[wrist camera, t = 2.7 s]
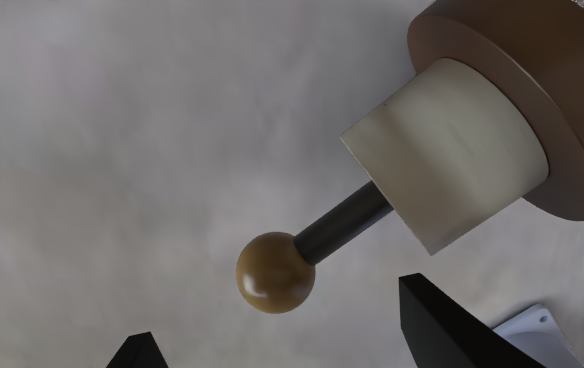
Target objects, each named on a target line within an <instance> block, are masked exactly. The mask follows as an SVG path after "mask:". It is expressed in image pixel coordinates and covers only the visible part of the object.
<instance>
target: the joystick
mask: <svg viewBox="0 0 584 368" xmlns="http://www.w3.org/2000/svg"><path fill="white" fill-rule="evenodd" d="M407 43H408V49H409V53H410V57H411V60H412V63H413V66H414V69H415V71H416V73H417V76H416V77H415V78H413V79H412V80H411V81H409V82H408V83H407V84H406V85H404V86H403V87H402V88H400V89H399V90H398V91H397V92H395V93H394V94H393V95H391V96H390V97H389V98H388V99H386V100H385V101H384V102H382V103H381V104H380V105H379V106H377V107H376V108H375V109H374V110H372V111H371V112H370V113H368V114H367V115H366V116H365V117H363V118H362V119H361V120H359V121H358V122H357V123H356V124H354V125H353V126H352V127H350V128H349V129H348V130H347V131H345V132H344V133H343V134H342V135H340V136H339V138H340V139H341V141H342V142H343V143H344V144H345V146H346V147H347V148H348V150H349V151H350V152H351V154H352V155H353V156H354V157H355V159H356V160H357V161H358V163H359V164H360V165H361V167H362V168H363V169H364V170H365V172H366V173H367V174H368V176H369V177H370V178H371V181H370V182H368V183H367V184H366V185H364V186H363V187H362V188H360V189H359V190H357V191H356V192H355V193H353V194H352V195H351V196H349V197H348V198H347V199H345V200H344V201H343V202H341V203H340V204H338V205H337V206H336V207H334V208H333V209H332V210H330V211H329V212H328V213H326V214H325V215H323V216H322V217H321V218H319V219H318V220H317V221H315V222H314V223H313V224H311V225H310V226H309V227H307V228H306V229H304V230H303V231H302V232H300V233H299V234H298V235H296V236H293V235H290V234H288V233H283V232H269V233H265V234H262V235H260V236H258V237H256V238H254V239H253V240H252V241H251V242H249V243H248V244H247V245H246V247H245V248H244V249H243V251H242V252H241V254H240V256H239V259H238V262H237V268H236V280H237V284H238V287H239V290H240V292H241V294H242V296H243V297H244V298H245V300H246V301H247V302H248V303H249V304H250V305H252V306H253V307H254V308H256V309H258V310H260V311H263V312H266V313H271V314H280V313H285V312H288V311H291V310H293V309H295V308H296V307H298V306H299V305H300V304H302V303H303V302H304V301H305V299H306V298H307V297H308V296H309V294H310V292H311V290H312V288H313V285H314V281H315V272H316V271H315V265H316V264H318V263H319V262H320V261H322V260H323V259H325V258H326V257H327V256H329V255H330V254H332V253H333V252H335V251H336V250H337V249H339V248H340V247H342V246H343V245H344V244H346V243H347V242H349V241H350V240H352V239H353V238H354V237H356V236H357V235H359V234H360V233H361V232H363V231H364V230H366V229H367V228H369V227H370V226H371V225H373V224H374V223H376V222H377V221H378V220H380V219H381V218H383V217H384V216H386V215H387V214H388V213H390V212H391V211H393V210H394V209H395V211H396V212H397V213H398V215H399V216H400V217H401V218H402V220H403V221H404V222H405V224H406V225H407V226H408V227H409V229H410V230H411V231H412V233H413V234H414V235H415V236H416V238H417V239H418V240H419V242H420V243H421V244H422V245H423V247H424V248H425V249H426V251H427V252H428V253H429V254H430V255H431V256H432V255H434V254H435V253H437V252H438V251H440V250H442V249H443V248H445V247H446V246H448V245H449V244H451V243H452V242H454V241H455V240H457V239H458V238H460V237H461V236H463V235H464V234H466V233H467V232H469V231H470V230H472V229H473V228H475V227H476V226H478V225H479V224H481V223H482V222H484V221H485V220H487V219H488V218H490V217H492V216H493V215H495V214H496V213H498V212H499V211H501V210H502V209H504V208H505V207H507V206H508V205H510V204H511V203H513V202H514V201H516V200H517V199H519V198H520V197H522V198H524V199H525V200H527V201H528V202H530V203H532V204H533V205H535V206H536V207H538V208H540V209H542V210H544V211H546V212H548V213H550V214H552V215H554V216H557V217H560V218H563V219H566V220H571V221H584V9H583V8H582V7H580V6H579V5H577V4H576V3H574V2H573V1H571V0H436V1H435V2H434V3H433V4H431V5H430V6H429V7H428V8H426V9H425V10H424V11H423V12H422V13H420V14H419V15H418V16H417V17H416V18H415V19H414V20H413V21H412V22H411V24H410V26H409V28H408V34H407Z"/></svg>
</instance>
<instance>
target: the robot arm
mask: <svg viewBox="0 0 584 368" xmlns="http://www.w3.org/2000/svg"><path fill="white" fill-rule="evenodd" d="M399 297H400V320H401V329H402V331H403V334H404V336H405V339H406V341H407V344H408V346H409V349H410V351H411V353H412V356H413V358H414V361H415V363H416V365H417V367H418V368H584V366H583V365H582V364H581V362H580V361H579V359H578V357H577V356H576V354H575V352H574V351H573V349H572V347H571V346H570V344H569V343H568V341H567V339H566V338H565V336H564V334H563V333H562V331H561V329H560V328H559V326H558V324H557V323H556V321H555V320H554V318H553V316H552V315H551V313H550V311H549V310H548V309H547V308H546V307H545V306H544V305H543V304H536V305H533V306H532V307H530V308H528V309H527V310H525V311H523V312H522V313H520V314H518V315H516V316H515V317H513V318H511V319H510V320H508V321H506V322H505V323H503V324H501V325H500V326H498V327H496V328H495V329H493V330H491V329H490V328H489V327H487V326H486V325H485V324H483V323H482V322H481V321H479V320H478V319H477V318H475V317H474V316H473V315H471V314H470V313H469V312H468V311H466V310H465V309H464V308H462V307H461V306H460V305H459V304H457V303H456V302H455V301H454V300H452V299H451V298H450V297H449V296H447V295H446V294H445V293H444V292H443V291H441V290H440V289H439V288H438V287H436V286H435V285H434V284H433V283H432V282H430V281H429V280H428V279H427V278H426V277H424V276H423V275H422V274H420V273H416V274H411V275H407V276H402V277H399ZM106 368H168V366H167V364H166V362H165V360H164V358H163V356H162V354H161V352H160V350H159V348H158V346H157V344H156V342H155V340H154V338H153V336H152V334H151V332H146V333H141V334H137V335H132V336H129V337H128V338H127V339H126V341H125V342H124V343H123V345H122V346H121V347H120V349H119V350H118V352H117V353H116V354H115V356H114V357H113V358H112V360H111V361H110V363H109V364H108V365H107V367H106Z"/></svg>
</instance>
